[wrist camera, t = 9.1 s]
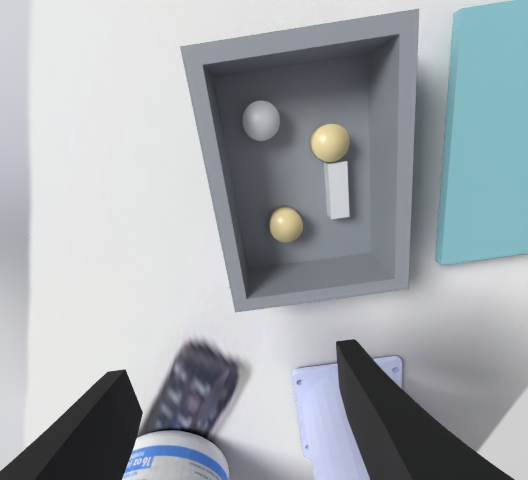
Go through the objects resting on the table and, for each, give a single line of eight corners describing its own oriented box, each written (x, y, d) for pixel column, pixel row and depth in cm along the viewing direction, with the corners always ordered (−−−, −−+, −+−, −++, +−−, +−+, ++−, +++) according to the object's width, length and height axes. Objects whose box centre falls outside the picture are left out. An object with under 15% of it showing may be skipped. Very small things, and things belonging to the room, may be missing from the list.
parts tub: (378, 256, 19) (408, 288, 15) (239, 276, 19) (235, 312, 16) (378, 38, 15) (419, 8, 11) (198, 65, 15) (180, 46, 11)
